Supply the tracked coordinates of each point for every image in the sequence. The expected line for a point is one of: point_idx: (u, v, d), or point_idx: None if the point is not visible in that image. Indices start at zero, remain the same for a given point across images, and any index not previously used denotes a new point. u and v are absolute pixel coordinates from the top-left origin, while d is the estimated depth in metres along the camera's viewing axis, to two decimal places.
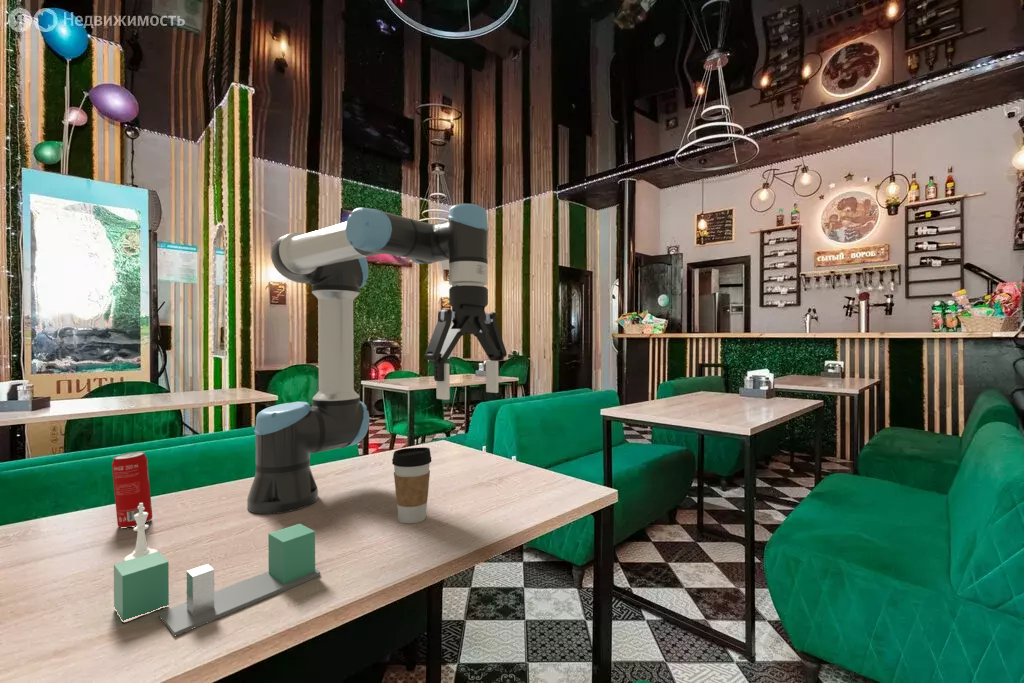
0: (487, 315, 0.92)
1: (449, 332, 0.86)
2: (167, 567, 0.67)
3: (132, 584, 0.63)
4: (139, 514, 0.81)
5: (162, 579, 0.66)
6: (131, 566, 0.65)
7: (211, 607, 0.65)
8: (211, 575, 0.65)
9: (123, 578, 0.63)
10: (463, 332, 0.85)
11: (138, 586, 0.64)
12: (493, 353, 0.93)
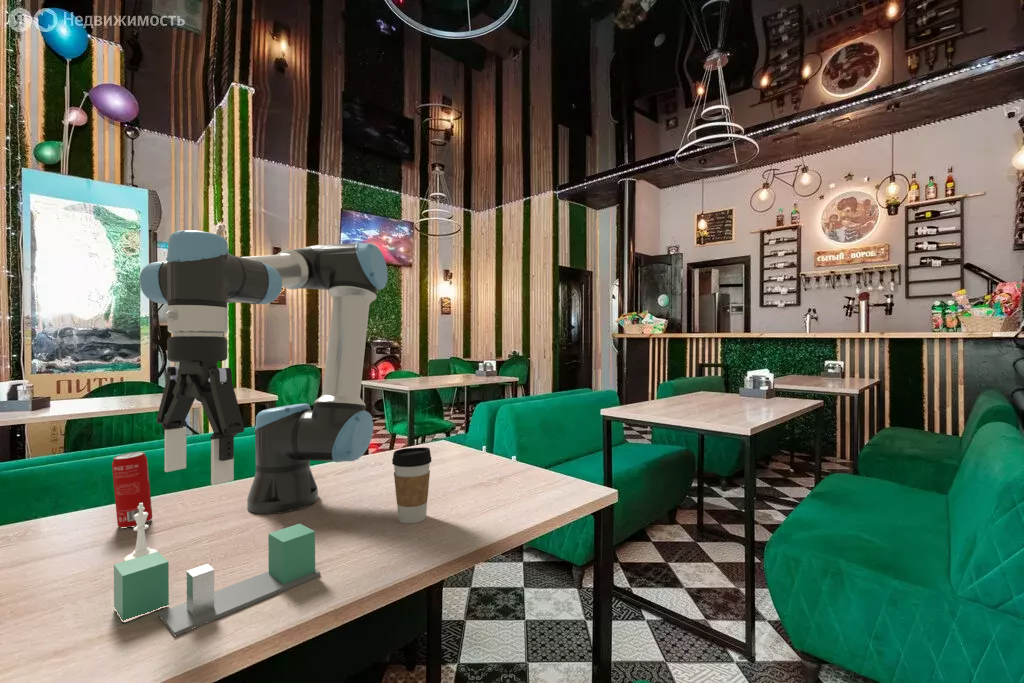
0: None
1: None
2: (167, 567, 0.67)
3: (132, 584, 0.63)
4: (139, 514, 0.81)
5: (162, 579, 0.66)
6: (131, 566, 0.65)
7: (211, 607, 0.65)
8: (211, 575, 0.65)
9: (123, 578, 0.63)
10: (174, 395, 0.69)
11: (138, 586, 0.64)
12: None
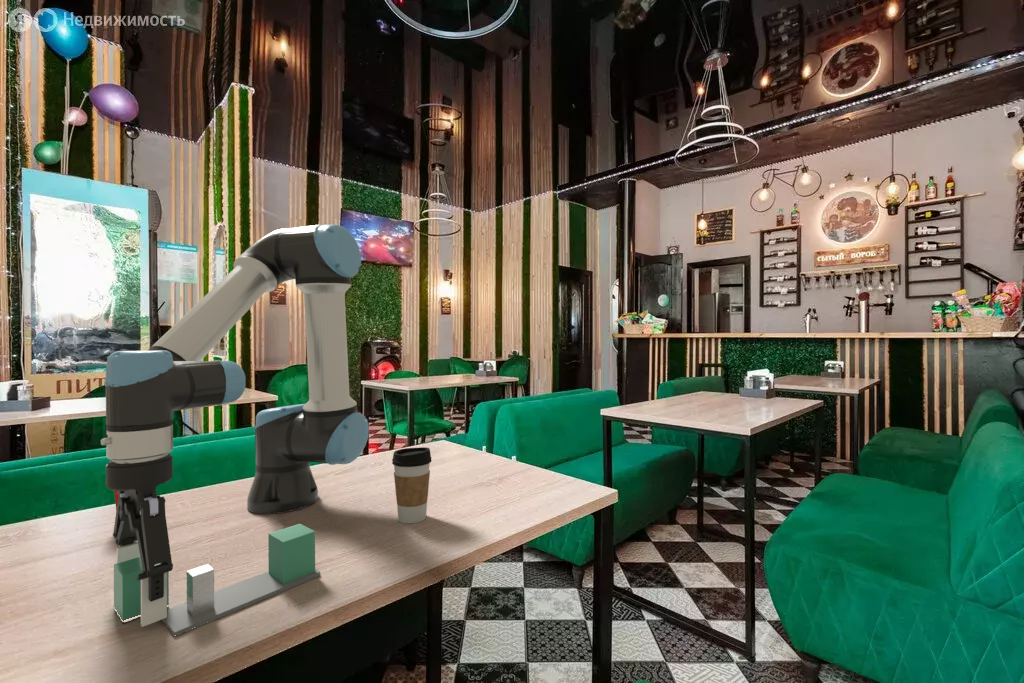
0: None
1: None
2: None
3: (132, 584, 0.63)
4: None
5: None
6: (131, 566, 0.65)
7: (211, 607, 0.65)
8: (211, 575, 0.65)
9: (123, 578, 0.63)
10: (120, 517, 0.67)
11: (138, 586, 0.64)
12: None
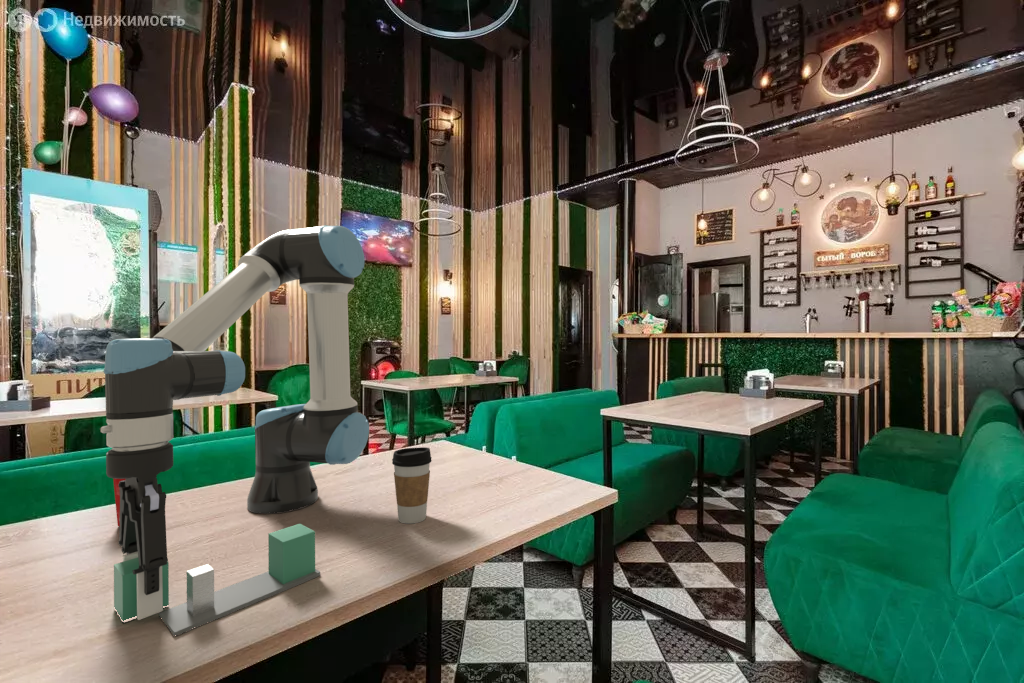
0: (147, 495, 0.62)
1: None
2: (167, 567, 0.67)
3: (132, 584, 0.63)
4: None
5: (162, 579, 0.66)
6: (131, 566, 0.65)
7: (211, 607, 0.65)
8: (211, 575, 0.65)
9: (123, 578, 0.63)
10: (122, 511, 0.66)
11: None
12: None
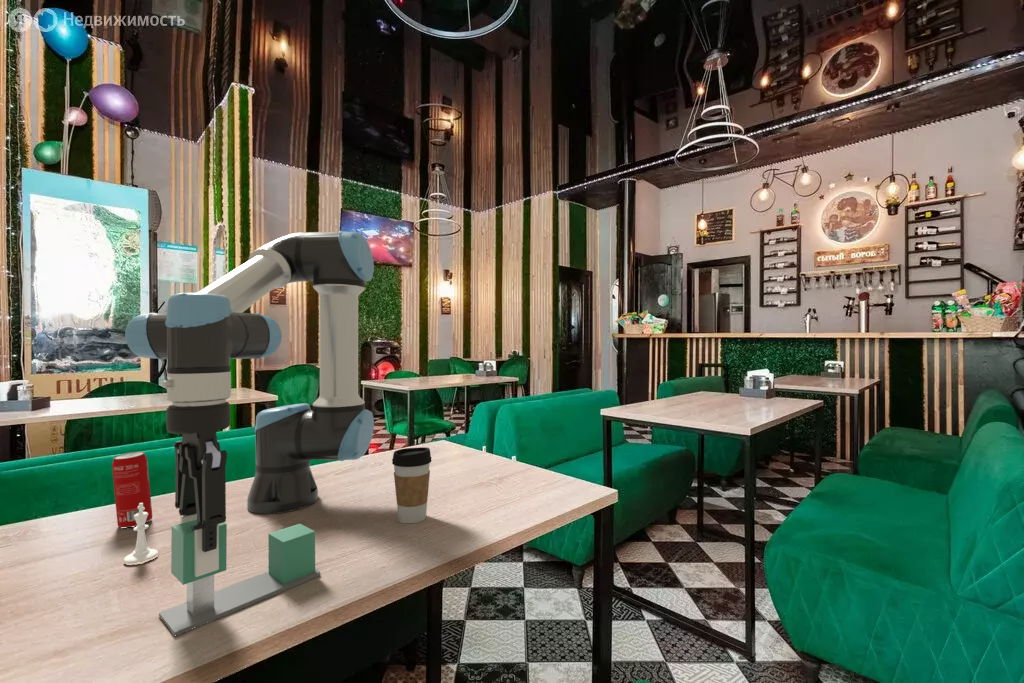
0: (208, 452, 0.62)
1: None
2: (225, 529, 0.65)
3: (193, 544, 0.62)
4: (139, 514, 0.81)
5: (220, 541, 0.65)
6: (189, 527, 0.64)
7: (211, 607, 0.65)
8: (211, 575, 0.65)
9: (184, 538, 0.61)
10: (180, 470, 0.65)
11: None
12: None
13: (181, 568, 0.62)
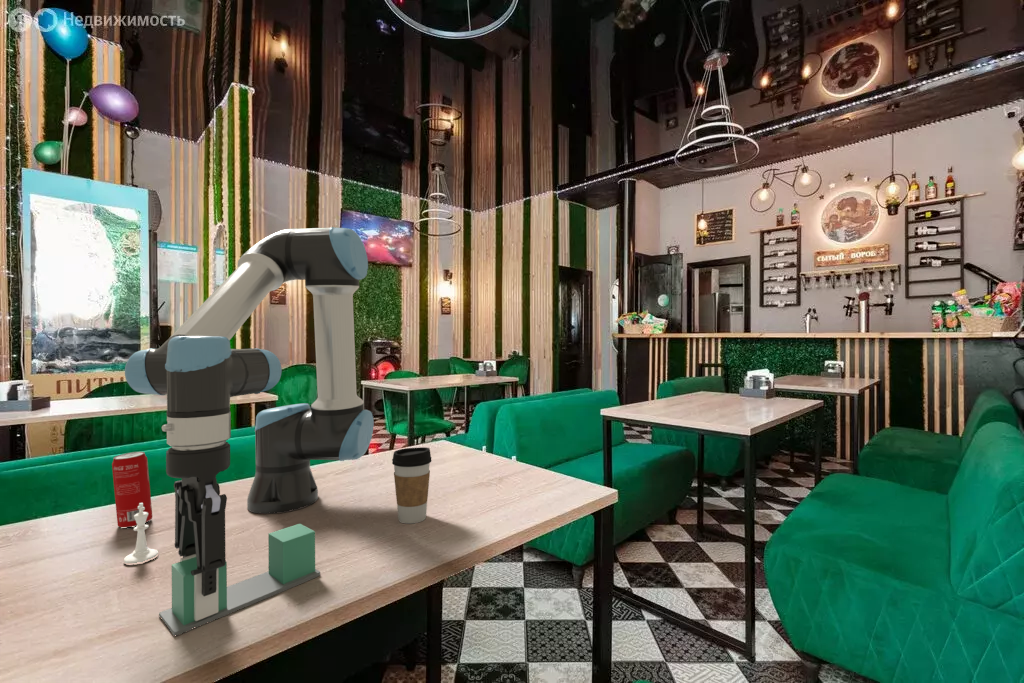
0: (208, 496, 0.62)
1: None
2: (225, 567, 0.65)
3: (193, 584, 0.62)
4: (139, 514, 0.81)
5: (221, 579, 0.65)
6: (189, 566, 0.64)
7: None
8: None
9: (184, 578, 0.61)
10: (180, 512, 0.65)
11: None
12: None
13: (181, 608, 0.62)
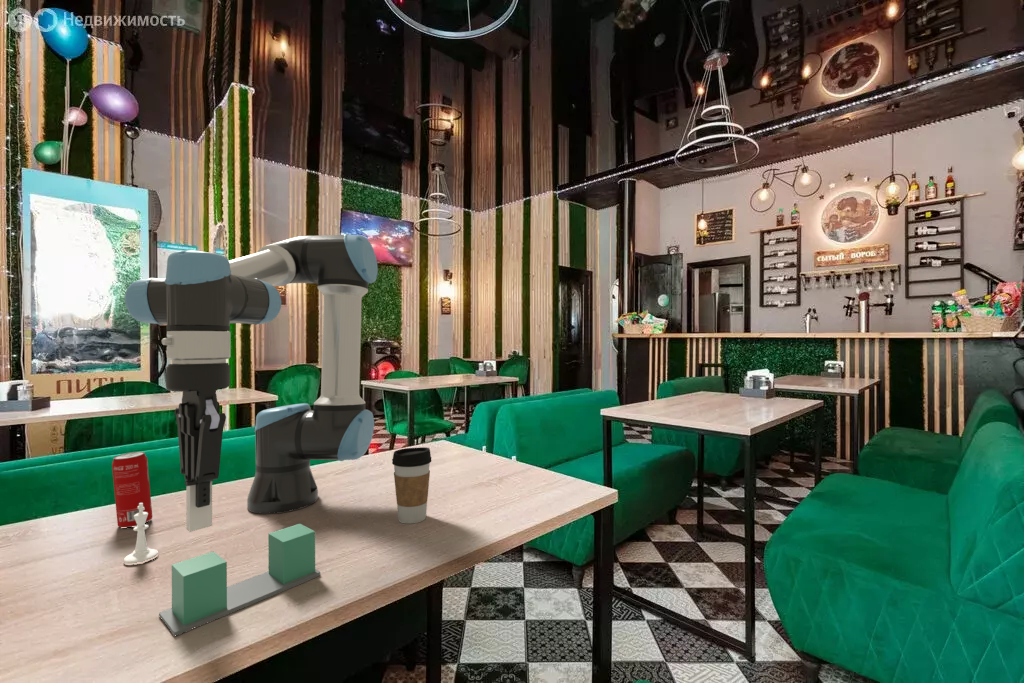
0: (207, 412, 0.62)
1: None
2: (225, 567, 0.65)
3: (193, 584, 0.62)
4: (139, 514, 0.81)
5: (221, 580, 0.65)
6: (190, 566, 0.64)
7: None
8: None
9: (184, 578, 0.61)
10: (182, 430, 0.64)
11: (198, 587, 0.63)
12: None
13: (181, 608, 0.62)
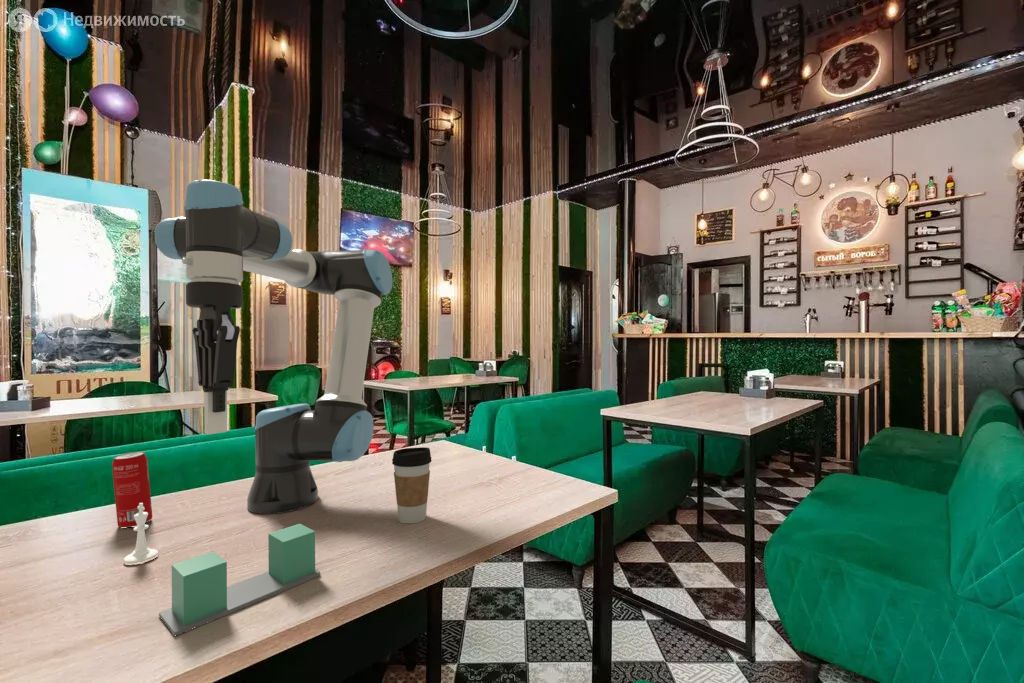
0: (223, 324, 0.69)
1: None
2: (225, 567, 0.65)
3: (193, 584, 0.62)
4: (139, 514, 0.81)
5: (221, 580, 0.65)
6: (190, 566, 0.64)
7: None
8: None
9: (184, 578, 0.61)
10: (200, 343, 0.71)
11: (198, 587, 0.63)
12: None
13: (181, 608, 0.62)
